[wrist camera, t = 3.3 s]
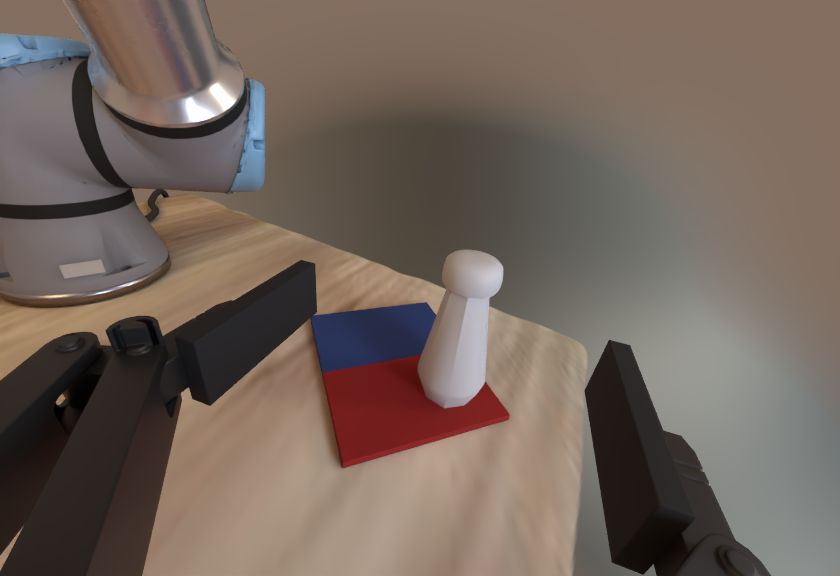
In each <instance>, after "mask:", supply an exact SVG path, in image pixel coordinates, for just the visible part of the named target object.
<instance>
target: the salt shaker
mask: <svg viewBox="0 0 840 576" xmlns="http://www.w3.org/2000/svg"><path fill="white" fill-rule="evenodd" d="M442 281H443V283H444V285H445V286H446V288H447V289H446V292H445V295H444V297H443V300H442V302H441V305H440V308H439V310H438V313H437V315H436V318H435V321H434V323H433V326H432V328H431V331H430V334H429V336H428V339H427V341H426V344H425V347H424V349H423V352H422V354H421V357H420V361H419V364H418V374H419V377H420V380H421V383H422V385H423V388H424V391H425V394H426V397H427V398H429V399H431V400H432V401H434V402H435V403H437V404H438V405H440V406H441V407H443V408H450V407H458V406H464V405H465V404H466V403H468V402H469V401H470V400H471V399H472V398H473V397H474V396H475V395H476V394H477V393H478V392H479V390H480V389H481V388H482V387H483V385H484V383H485V373H486V354H487V334H488V314H489V297H492V296H493V295H494V294H496V293H497V292H498V290H499V289H500V287H501V284H502V281H503V266H502V265H501V263H500V262H499V261H498V260H497V259H496V258H495V257H493V256H491V255H489V254H487V253H484V252H480V251H477V250H467V249H466V250H458V251H456V252H454V253H452V254H450V255H448V256H447V258H446V261H445V264H444V267H443V273H442Z"/></svg>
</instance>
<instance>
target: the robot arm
mask: <svg viewBox="0 0 840 576" xmlns="http://www.w3.org/2000/svg"><path fill="white" fill-rule="evenodd" d="M62 1H63V3H64V4H65V6H66V7H67V9H68V10H69V12H70V14H71V15H72V17H73V18H74V20H75V21H76V23H77V25H78V26H79V28H80V29H81V31H82V33H83V34H84V36H85V37H86V39H87V40H88V42H89V44H90V45H91V47H92V48H93V50H92V51H91V50H90V48H89V46H88V45H87V44H86V43H84V42H82V41H79V40H74V39H68V38H59V37H49V36H35V35H15V34H3V33H2V34H1V33H0V298H1V299H3V300H5V301H7V302H10V303H14V304H18V305H24V306H35V307H56V306H69V305H78V304H85V303H91V302H96V301H101V300H105V299H110V298H113V297H117V296H121V295H124V294H127V293H130V292H133V291H135V290H138V289H140V288H143V287H145V286H147V285H149V284H151V283H153V282H154V281H156V280H158V279H159V278H161V277H162V276H163V275H164V274H165V273H166V272H167V271H168V270H169V268H170V266H171V260H170V256H169V252H168V250H167V248H166V246H165V244H164V242H163V241H162V239H161V238H160V237H159V235H158V234H157V232H156V231H155V230H154V228H153V227H152V226H151V224H150V223H149V221H151V220H152V219H154V218H155V217H156V216H157V215H158V213H159V209H158V207H157V206H156V205H155V201H156V199H157V197H158V196H159V195H160V194H162V195H163V197H164V198H165V197H169V195H168V194H167V192H166V191H165V190H163V189H167V190H184V191H203V192H222V193H226V194H231V193H233V192H255V191H258V190H259V189H260V188H261V187H262V186H263V184H264V180H265V89H264V86H263V85H262V84H261V83H260V82H257V81H254V80H253V79H251V78H244V74H243V71H242V68H241V65H240V63H239V61H238V60H237V58H236V56H235V55H234V54H233V53H232V51H231V50H230V49H229V48H228V47H227V46H226V45H224V44H223V43H222V42H221V41H219V40H218V39H216V38H215V35H214V32H213V28H212V25H211V21H210V17H209V14H208V10H207V7H206V3H205V0H62ZM132 188H145V189H156V190H155V191H154V192H153V193H152V195H151V196H150V197H149V199H148V205H149V207H150V208H151V209H152V211H151V212H150V213H149V214H148V215H146V216H144V215H143V213H142V212H141V210H140V209H139V208H138V206H137V204H136V202H135V198H134V195H133V192H132ZM316 312H317V301H316V274H315V264H314V263H311V262H307V261H303V260H300V261H299V262H297V263H295V264H294V265H292V266H290V267H289V268H287V269H285V270H284V271H282V272H280V273H279V274H277V275H275V276H274V277H272V278H270V279H269V280H267V281H265V282H264V283H262V284H260V285H259V286H257V287H256V288H254V289H252V290H251V291H249V292H247V293H246V294H244V295H242V296H241V297H239V298H237V299H236V300H234V301H232V300H230V301H227V302H224V303H221V304H218V305H215V306H214V307H212V308H210V309H209V310H207V311H205V313H202V314H200V315H198V316H197V317H196V318H195V319H194V318H193V319H191V320H190V321H188V322H186V323H185V324H183V325H181V326H179V327H178V328H176V329H174V330H173V331H171V332H169V333H168V334H166V335H164V336H162V333H161V330H160V326H159V323H158V320H156V319H155V318H154V317H150V316H135V317H130V318H126V319H123V320H120V321H118V322H116V323H114V324H112V325H110V326H109V327H108V328H107V329H106V330H105V331H106V333H107V336H108V338H109V341H110V343H111V345H112V346H105V345H101V344H100V342H99V340H98V337H97V335H95V334H93V333H90V332H77V333H70V334H66V335H63V336H61V337H58V338H56V339H53V340H52V341H50V342H49V343H47V344H45V345H44V346H43V347H42V348H40V349H39V350H38V351H37V352H35V353H34V354H33V355H32V356H31V357H29V358H28V359H27V360H26V361H24V362H23V363H22V364H21V365H19V366H18V367H17V368H16V369H14V370H13V371H12V372H11V373H9V374H8V375H7V376H6V377H4V378H3V379H2V380H1V381H0V555H1V554H2V553H3V551H4V550H5V549H6V547H7V546H8V545H9V544H10V542H11V541H12V540H13V538H14V537H15V536H16V535H17V533H18V532H19V531H20V529H21V528H22V527H23V526H24V527H23V529H22V531H21V533H20V534H19V536H18V538H17V540H16V542H15V544H14V546H13V548H12V550H11V552H10V554H9V556H8V558H7V560H6V562H5V563H4V565H3V567H2V569H1V571H0V576H142V574H143V569H144V565H145V560H146V556H147V552H148V547H149V543H150V538H151V534H152V530H153V525H154V521H155V517H156V512H157V508H158V503H159V499H160V495H161V490H162V486H163V481H164V477H165V473H166V468H167V464H168V459H169V455H170V451H171V446H172V442H173V438H174V433H175V429H176V424H177V420H178V416H179V411H180V407H181V402H182V397H181V392H183V391H184V390H185V389H186V388H188V387H189V389H190V392H191V396H192V399H194V400H197V401H199V402H202V403H204V404H207V405H209V406H211V405H212V404H213V403H214V402H215V401H216V400H217V399H218V398H220V397H221V396H222V395H223V394H224V393H225V392H226V391H228V390H229V389H230V388H231V387H232V386H233V385H234V384H236V383H237V382H238V381H239V380H240V379H241V378H242V377H244V376H245V375H246V374H247V373H248V372H249V371H250V370H252V369H253V368H254V367H255V366H256V365H257V364H258V363H259V362H261V361H262V360H263V359H264V358H265V357H266V356H267V355H269V354H270V353H271V352H272V351H273V350H274V349H275V348H277V347H278V346H279V345H280V344H281V343H282V342H283V341H285V340H286V339H287V338H288V337H289V336H290V335H291V334H293V333H294V332H295V331H296V330H297V329H298V328H299V327H300V326H302V325H303V324H304V323H305V322H306V321H307V320H308V319H310V318H311V317H312V316H313V315H314V314H315V313H316ZM62 393H63V395H64V397H65V400H64V401H63V402H62V403H61V404H60V405H59V406H58V405H57V404H56V403H55V402H56V401H57V399H58V398H59V396H60V395H61V394H62ZM585 396H586V403H587V408H588V415H589V421H590V427H591V434H592V440H593V447H594V452H595V459H596V465H597V472H598V478H599V484H600V490H601V497H602V502H603V509H604V515H605V522H606V528H607V534H608V541H609V547H610V553H611V559H612V563H615V564H617V565H620V566H622V567H625V568H627V569H630V570H633V571H635V572H638V573H640V574H644V573H645V572H646V571H647V570H648V569H649V568H650V567H651V566H652V565H653V564H654V567H655V571H656V575H657V576H771V575H770V574H769V572H768V571H767V569H766V568H765V567H764V565H763V564H762V562H761V561H760V560H759V559H758V558H757V557H756V556H755V555H753V554H752V552H751V551H749V549H747V548H746V547H744V546H743V545H741V544H740V543H739V542H737V541H736V540H735V538H734V536H733V534H732V532H731V530H730V528H729V525H728V523H727V521H726V519H725V517H724V515H723V512H722V510H721V508H720V506H719V503H718V501H717V499H716V497H715V495H714V493H713V490H712V488H711V486H709V482H708V480H707V477H706V475H705V473H704V472H702V467H701V464H700V462H699V460H698V458H697V456H696V453H695V452H694V451H693V449H692V448H691V447H690V446H689V445H688V443H687V442H686V441H685V440H684V439H683V438H682V436H679V435H676V434H673V433H670V432H666V431H663V429H662V426H661V424H660V421H659V419H658V416H657V413H656V411H655V408H654V406H653V403H652V401H651V398H650V395H649V393H648V390H647V388H646V385H645V383H644V380H643V377H642V375H641V372H640V370H639V367H638V364H637V362H636V359H635V357H634V354H633V352H632V349H631V346H630V345H627V344H623V343H619V342H615V341H611V340H609V341H608V343H607V345H606V348H605V349H604V352H603V354H602V356H601V358H600V360H599V362H598V364H597V366H596V368H595V370H594V372H593V375H592V376H591V379H590V380H589V383H588V385H587V387H586V389H585ZM24 524H25V525H24Z"/></svg>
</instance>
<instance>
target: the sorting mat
mask: <svg viewBox="0 0 840 576" xmlns="http://www.w3.org/2000/svg"><path fill="white" fill-rule="evenodd" d="M435 318H436V314H435V313H434V312H433V310H432V309H431V308H430V306H429V305H428V304H427V302H425V303H416V304H408V305H400V306H391V307H383V308H374V309H366V310H357V311H349V312H340V313H332V314H323V315H315V316H312V317H311V318H310V320H311V325H312V329H313V334H314V339H315V343H316V348H317V352H318V357H319V362H320V366H321V371H322V376H323V380H324V385H325V389H326V394H327V399H328V403H329V408H330V413H331V417H332V422H333V426H334V431H335V436H336V440H337V445H338V450H339V454H340V459H341V463H342V467H343V468H345V467H348V466H352V465H355V464H358V463H362V462H365V461H369V460H372V459H376V458H379V457H382V456H386V455H389V454H393V453H396V452H399V451H403V450H406V449H410V448H413V447H416V446H420V445H423V444H427V443H430V442H434V441H437V440H440V439H444V438H447V437H451V436H454V435H457V434H461V433H464V432H468V431H471V430H475V429H478V428H481V427H485V426H488V425H492V424H495V423H498V422H502V421H505V420H508V419H509V416H510V414H509V413H508V412H507V410H506V409H505V408H504V406H503V405H502V404H501V402H500V401H499V400H498V398H497V397H496V396H495V394H494V393H493V392H492V390H491V389H490V387H489V386H488V385H487V383H486V382H485V383H484V385H483V387H482V388H481V389H480V390H479V392H478V393H477V394H476V395H475V396H474V397H473V398H472V399H471V400H470V401H469V402H468V403H466V404H465V405H464V406H458V407H450V408H443V407H441V406H440V405H438V404H437V403H435V402H434V401H432V400H431V399H429V398H427V397H426V394H425V391H424V388H423V385H422V383H421V380H420V377H419V374H418V364H419V361H420V357H421V354H422V352H423V349H424V347H425V344H426V341H427V339H428V336H429V334H430V331H431V328H432V326H433V323H434V321H435Z"/></svg>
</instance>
